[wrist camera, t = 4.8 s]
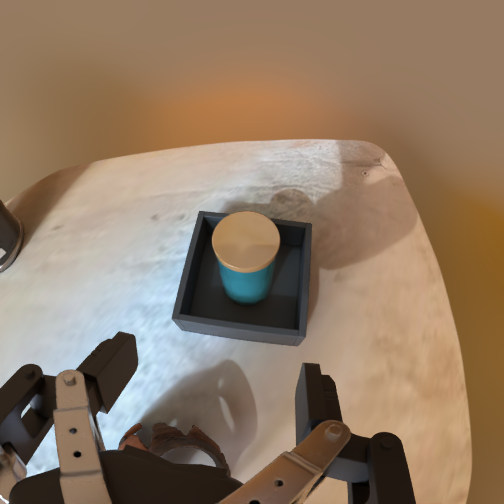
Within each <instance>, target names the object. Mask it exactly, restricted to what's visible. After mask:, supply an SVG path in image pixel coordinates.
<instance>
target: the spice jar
mask: <svg viewBox="0 0 504 504" xmlns="http://www.w3.org/2000/svg"><path fill="white" fill-rule="evenodd" d="M212 245H213V250H214V253H215V255H216V257H217V262H218V267H219V271H220V276H221V280H222V285H223V289H224V292H225V294H226V296H227V297H228V298H229V299H230V300H231V301H232V302H234V303H236V304H238V305H241V306H253V305H256V304H259V303H260V302H262V301H263V300H265V299H266V297H267V296H268V295H269V293H270V290H271V286H272V280H273V274H274V268H275V262H276V256H277V254H278V251H279V246H280V235H279V231H278V229H277V227H276V226H275V224H274V223H273V222H272V221H271V220H270V219H269V218H268V217H266V216H264V215H262V214H260V213H257V212H252V211H241V212H236V213H233V214H230V215H228V216H227V217H225V218H224V219H222V220H221V221H220V222H219V224H218V225H217V226H216V228H215V230H214V232H213V236H212Z"/></svg>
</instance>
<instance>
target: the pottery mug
mask: <svg viewBox="0 0 504 504" xmlns="http://www.w3.org/2000/svg"><path fill="white" fill-rule="evenodd" d="M141 428H142V425H141V424H140V423H138V424H136V425H134V426H133V427H131V428H130V429H129V430H128V431H127V432H126V433H125V435H124V436H123V437H122V439H121V441H120V443H119V447H118V450H123V449H124V447H125V445H126V444H127V445H130V446H133V447H136V448H140V449H143V450H146V451H149V452H151V453H153V454H155V455H157V456H159V457H160V456H162V455H163V454H164V453H166V452H168V451H170V450H173V449H176V448H182V447H194V448H197V449H200V450H202V451H204V452H205V453H207V454H208V455H209V456H210V457H211V458H212V459H213V461H214V462H215V464H216V467H218V468H224V469H228V470H227V476H229V477H230V470H229V466H228V464H227V463H226V460H225V457H224V455H223V453H221V451H220V448H219V446H218V445H217V444H216V443H215V442H214V441H213V440H212V439H210V438H209V437H208V436H207V435H206V434H205V433H203V432H202V431H201V430H200V429H199V428H198V427H197V426H195V425H193V426H192V429H191V430H190V432H189V433H188V434H187V435H184V434H183V433H182V432H181V430H179V429H177V428H176V427H172V426H168V425H167V424H166V423H158V424H154V425H152V429H153V431H154V432H153V434H152V440H151V443H150V447H149V449H148V448H147V447H146V446H145V445H144V444H143V443H142V442H141V440H140V438H139V436H138V435H133V434H134V433H136V432H137V431H138V430H140V429H141Z"/></svg>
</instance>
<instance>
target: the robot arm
mask: <svg viewBox="0 0 504 504" xmlns="http://www.w3.org/2000/svg"><path fill="white" fill-rule="evenodd" d="M23 237H24V228H23V225H22V223H21V222H20V221H19V220H18V219H17V218H16V217H15V216H14V215H13V214H12V213H11V212H10V211H9V209H8V208H7V207H6V206H5V205H4V203H3V202H2V201H1V200H0V273H1V272H3V271H4V270H5V269H7V268H8V267H9V266H10V264H11V263H12V262H13V261H14V259H15V258H16V256H17V254H18V252H19V250H20V248H21V245H22V242H23ZM137 366H138V355H137V347H136V339H135V336H134V335H133V334H129V333H125V332H118V333H117V334H116V335H115V336H114V337H113V339H107V340H105V341H103V342H101V343H100V344H99V345H98V346H97V347H96V348H95V350H93V351H92V353H91V355H89V356H88V357H87V358H86V359H85V360H84V361H83V362H82V363H81V364H80V365H79V367H78V368H77V369H76V370H65V371H63V372H61V373H59V374H58V375H57V377H56V376H49V375H43V372H42V369H41V368H40V367H39V366H38V365H35V364H27V365H24V366H22V367H21V368H20V369H19V370H18V371H17V372H16V373H15V374H14V375H13V376H12V377H11V378H10V379H9V380H8V381H7V382H6V383H5V384H4V385H3V386H2V387H1V388H0V499H2V500H3V501H5V502H6V503H7V504H303V503H304V502H305V500H306V499H307V498H308V497H309V496H310V495H311V494H312V493H313V492H314V491H315V490H316V489H317V488H318V487H319V486H320V484H321V483H322V482H323V481H324V480H325V479H326V478H327V477H330V478H334V479H338V480H342V481H347V486H348V504H416V501H415V496H414V492H413V487H412V482H411V478H410V473H409V469H408V465H407V461H406V457H405V453H404V449H403V445H402V442H401V440H400V439H399V438H398V437H397V436H396V435H394V434H392V433H389V432H380V433H377V434H375V435H374V436H373V437H372V438H366V437H362V436H358V435H355V434H353V433H351V432H350V429H349V428H348V427H347V425H345V424H344V423H343V421H342V415H341V410H340V405H339V400H338V395H337V392H336V391H337V390H336V385H335V382H334V381H333V379H332V378H331V377H330V376H329V375H321V370H320V365H319V364H315V363H303V364H302V367H301V371H300V375H299V379H298V383H297V387H296V393H295V415H296V447H295V448H294V449H293V450H292V451H291V452H287V451H286V452H284V453H282V454H281V455H280V456H278V457H277V458H276V459H275V460H274V461H272V462H271V463H270V464H269V465H268V466H266V467H265V468H264V469H263V470H262V471H260V472H259V473H258V474H257V475H255V476H254V477H253V478H252V479H250V480H249V481H248V482H246V483H245V484H243V483H241V482H240V481H238V480H236V479H234V478H232V477H229V476H227V470H228V469H224V468H218V467H212V466H207V465H202V464H173V463H170V462H168V461H166V460H164V459H162V458H160V457H159V456H157V455H155V454H153V453H151V452H149V451H146V450H143V449H140V448H136V447H133V446H130V445H127V444H126V445H125V447H124V449H123V450H107V451H106V449H105V446H104V443H103V439H102V435H101V432H100V428H99V423H98V419H97V416H96V415H97V413H98V412H99V411H100V412H103V413H106V414H108V412H109V411H110V409H111V408H112V406H113V405H114V403H115V402H116V400H117V399H118V397H119V396H120V394H121V393H122V391H123V390H124V388H125V387H126V385H127V384H128V382H129V381H130V379H131V378H132V376H133V375H134V373H135V372H136V370H137ZM29 403H30V405H31V407H30V408H29V409H28V411H27V412H26V413H25V415H24V416H23V417H22V418H21V414H22V412H23V410H24V409H25V408H26V406H27V405H28V404H29ZM53 424H54V427H55V436H56V445H57V452H58V459H59V465H60V467H59V468H56V469H53V470H50V471H47V472H44V473H40V474H37V475H34V476H31V477H27V478H26V475H27V469H26V465H27V464H28V462H29V460H30V459H31V457H32V456H33V454H34V453H35V451H36V449H37V448H38V446H39V445H40V443H41V442H42V440H43V439H44V437H45V436H46V434H47V433H48V431H49V430H50V428H51V427H52V425H53Z"/></svg>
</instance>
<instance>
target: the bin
mask: <svg viewBox="0 0 504 504" xmlns="http://www.w3.org/2000/svg"><path fill="white" fill-rule="evenodd" d="M228 215H230V214H225V213H215V212H205V211H199V214H198V217H197V221H196V224H195V228H194V232H193V235H192V239H191V242H190V246H189V250H188V254H187V258H186V261H185V265H184V269H183V273H182V277H181V281H180V285H179V289H178V293H177V298H176V302H175V306H174V310H173V315H172V320H173V321H174V322H175V323H176V324H177V325H178V327H179V328H180V329H181V330H183V331H189V332H194V333H200V334H206V335H212V336H219V337H225V338H232V339H239V340H247V341H254V342H262V343H271V344H280V345H290V346H299V345H300V343H301V342H302V341H303V340H304V338H305V337H306V327H307V313H308V298H309V281H310V261H311V235H312V224H311V223H304V222H296V221H287V220H279V219H271V218H269V219H270V220H271V221H272V222H273V223H274V224H275V226H276V227H277V229H278V231H279V235H280V246H279V251H278V254H277V256H276V262H275V268H274V274H273V280H272V286H271V290H270V293H269V295H268V296H267V297H266V299H265V300H263V301H262V302H260V303H259V304H256V305H253V306H241V305H238V304H236V303H234V302H232V301H231V300H230V299H229V298H228V297H227V296H226V294H225V292H224V289H223V285H222V280H221V276H220V271H219V267H218V262H217V257H216V255H215V253H214V250H213V245H212V236H213V232H214V230H215V228H216V226H217V225H218V224H219V222H220V221H221V220H222V219H224V218H225V217H227V216H228Z"/></svg>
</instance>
